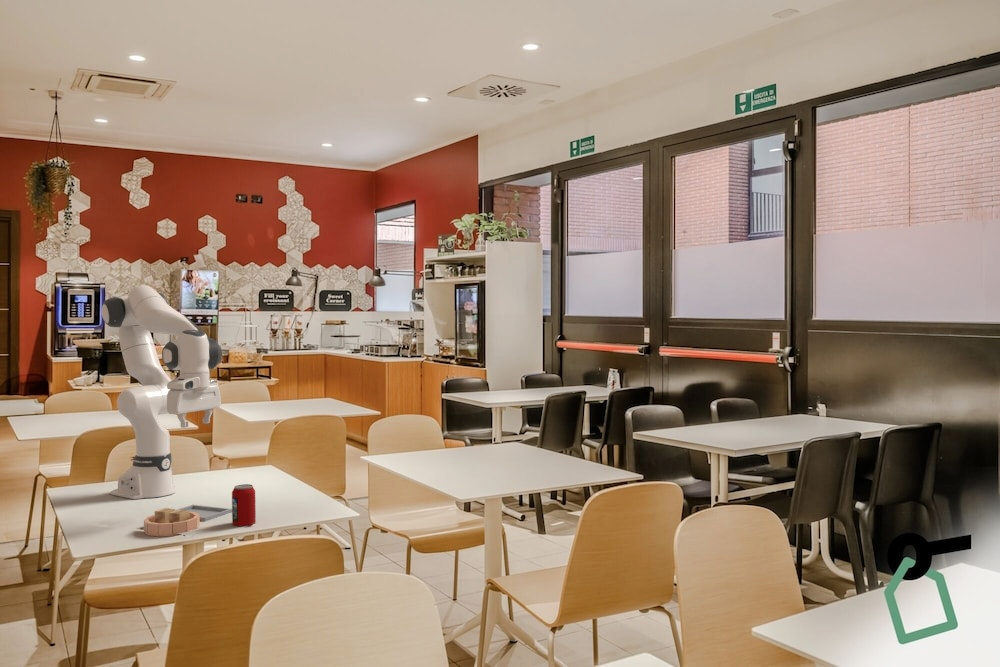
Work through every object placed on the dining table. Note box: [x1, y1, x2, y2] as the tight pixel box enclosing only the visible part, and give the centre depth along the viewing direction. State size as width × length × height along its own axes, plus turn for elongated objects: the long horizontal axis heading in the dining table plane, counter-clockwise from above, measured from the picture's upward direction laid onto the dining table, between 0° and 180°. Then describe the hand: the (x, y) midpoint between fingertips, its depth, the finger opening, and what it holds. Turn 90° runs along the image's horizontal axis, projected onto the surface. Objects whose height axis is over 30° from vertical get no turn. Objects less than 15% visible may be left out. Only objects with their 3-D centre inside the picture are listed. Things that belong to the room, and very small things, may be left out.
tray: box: [175, 504, 232, 522], centre depth 257 cm, size 16×12×2 cm
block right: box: [169, 509, 190, 523], centre depth 240 cm, size 4×4×5 cm
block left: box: [154, 507, 176, 523], centre depth 242 cm, size 4×4×5 cm
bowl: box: [143, 512, 201, 538], centre depth 241 cm, size 15×15×4 cm
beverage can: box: [231, 483, 257, 528], centre depth 245 cm, size 7×7×12 cm
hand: (195, 425), depth 255 cm, fingers open, 8 cm apart
